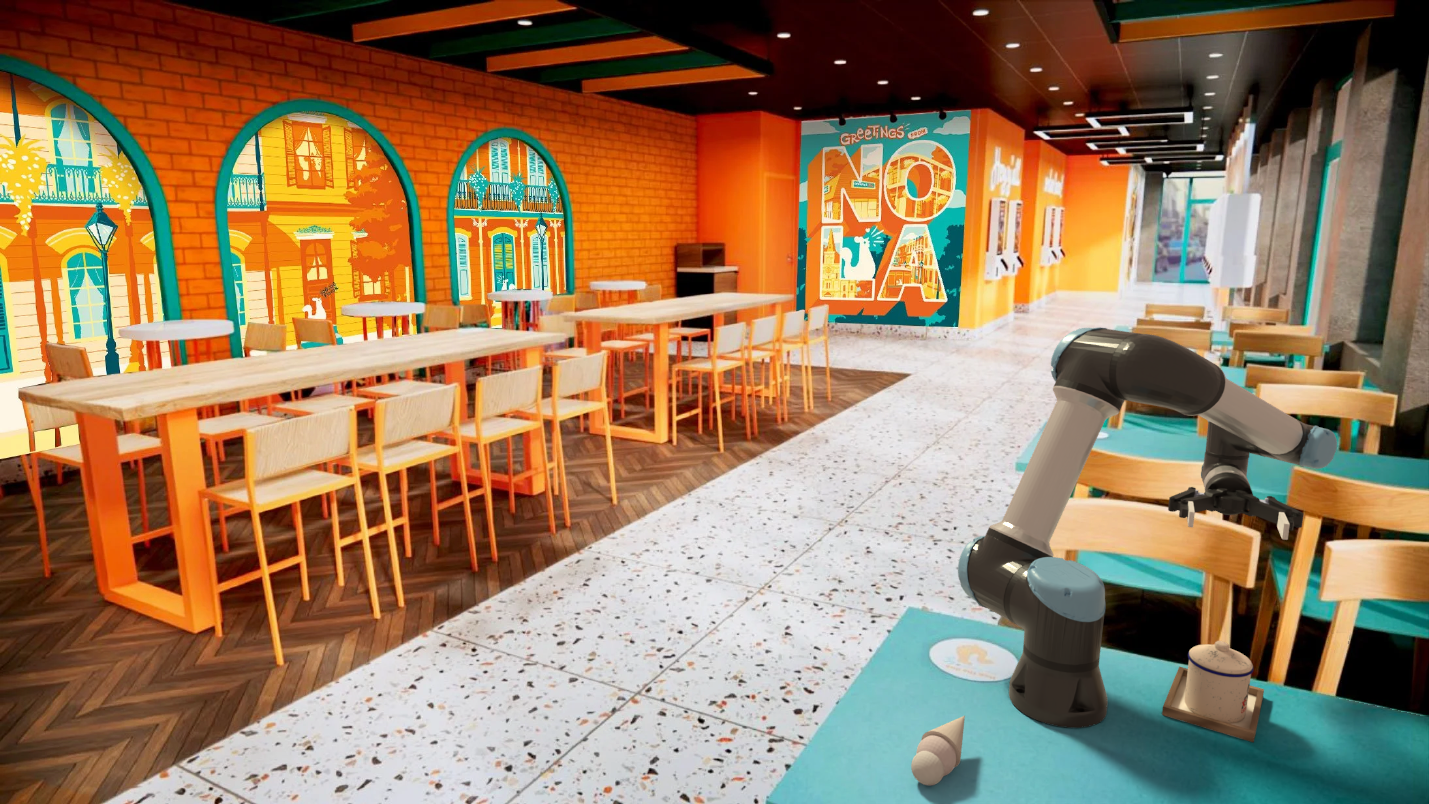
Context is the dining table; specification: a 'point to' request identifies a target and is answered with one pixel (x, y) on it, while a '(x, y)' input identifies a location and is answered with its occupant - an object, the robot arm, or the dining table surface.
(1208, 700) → the teacup with lid
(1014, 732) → the dining table surface
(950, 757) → the ice cream cone
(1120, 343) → the robot arm
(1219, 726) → the walnut tray
